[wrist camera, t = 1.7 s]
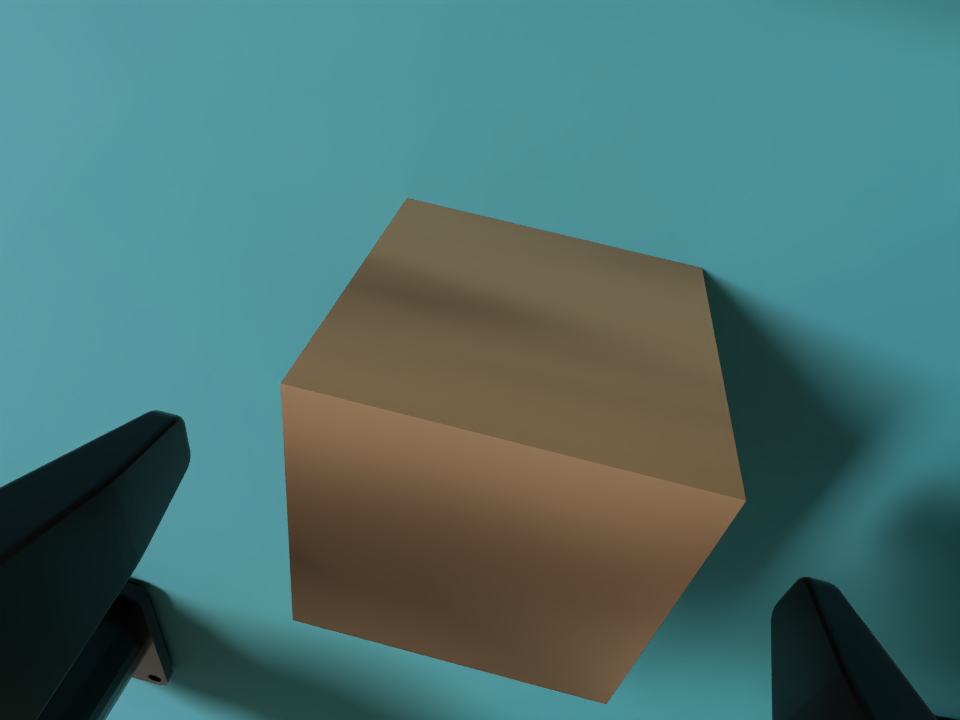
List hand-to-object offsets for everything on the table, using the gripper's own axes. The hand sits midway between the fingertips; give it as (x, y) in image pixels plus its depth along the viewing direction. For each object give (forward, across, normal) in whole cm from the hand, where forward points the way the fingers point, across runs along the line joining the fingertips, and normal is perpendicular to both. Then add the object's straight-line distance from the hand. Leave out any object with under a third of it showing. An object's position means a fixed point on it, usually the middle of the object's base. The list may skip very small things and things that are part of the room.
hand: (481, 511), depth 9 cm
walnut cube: (+4, 0, 0) cm, 4 cm away
